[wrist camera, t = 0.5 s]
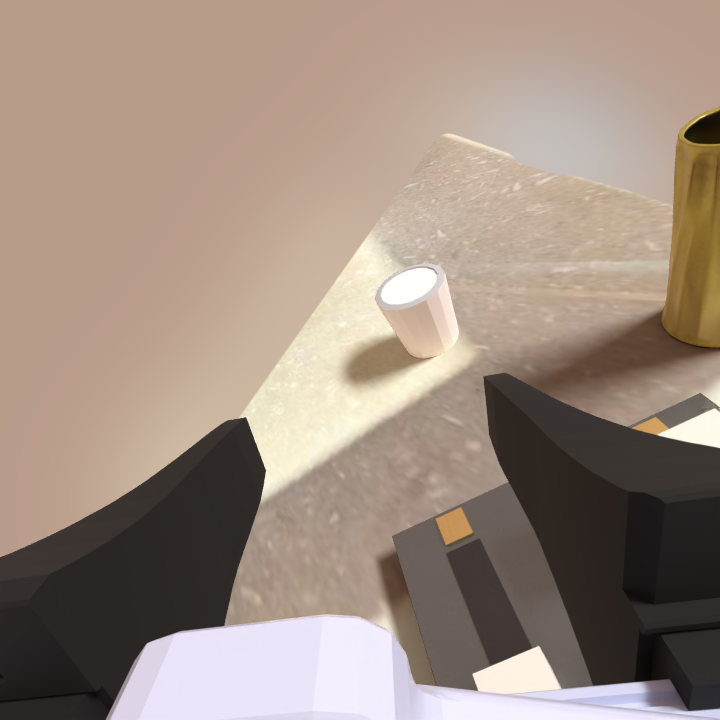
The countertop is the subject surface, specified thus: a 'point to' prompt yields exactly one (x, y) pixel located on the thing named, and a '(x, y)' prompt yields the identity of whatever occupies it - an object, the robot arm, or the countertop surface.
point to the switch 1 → (518, 674)
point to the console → (496, 582)
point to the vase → (696, 235)
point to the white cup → (419, 309)
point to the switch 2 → (698, 430)
